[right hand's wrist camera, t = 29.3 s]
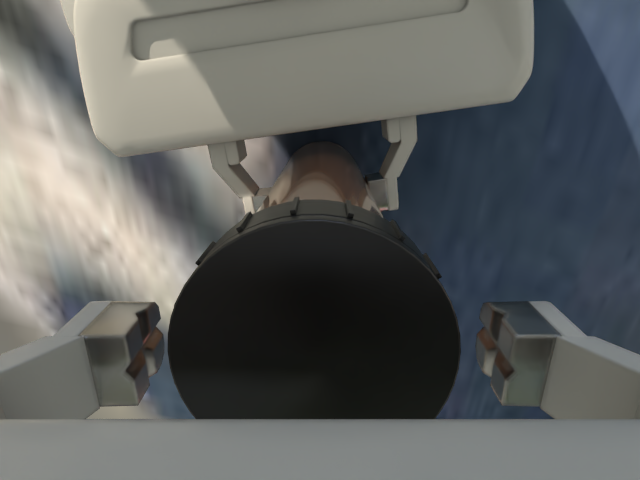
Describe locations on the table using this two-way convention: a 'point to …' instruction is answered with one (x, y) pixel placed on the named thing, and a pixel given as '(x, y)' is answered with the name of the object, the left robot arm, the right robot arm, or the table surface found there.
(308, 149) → the brown cylinder
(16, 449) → the right robot arm
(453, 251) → the table surface
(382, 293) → the lid
